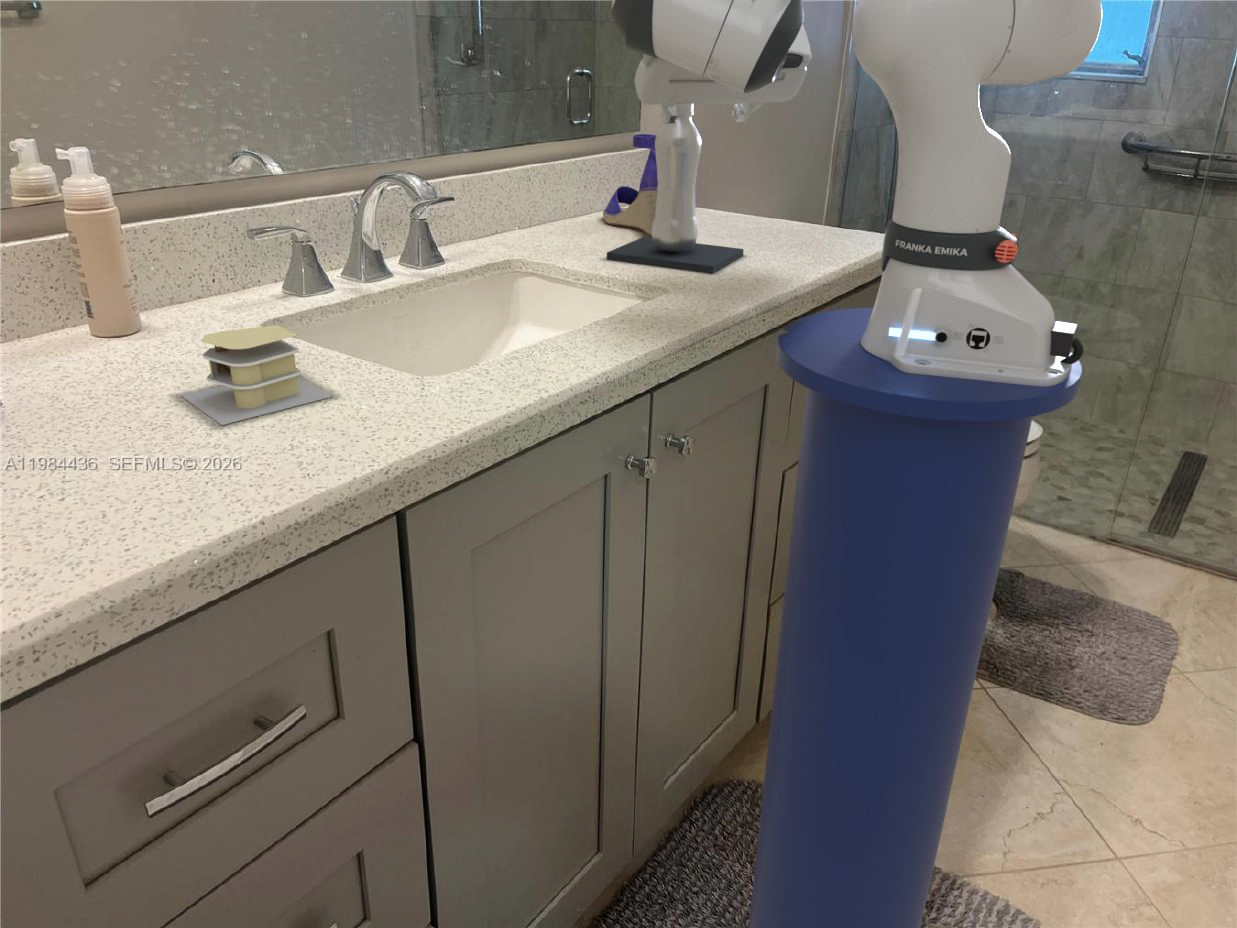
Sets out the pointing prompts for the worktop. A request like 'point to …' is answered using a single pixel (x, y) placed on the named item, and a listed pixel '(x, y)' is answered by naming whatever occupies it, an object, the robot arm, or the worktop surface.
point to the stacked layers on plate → (252, 375)
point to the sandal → (637, 194)
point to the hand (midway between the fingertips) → (703, 118)
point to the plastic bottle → (676, 183)
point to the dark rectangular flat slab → (676, 256)
